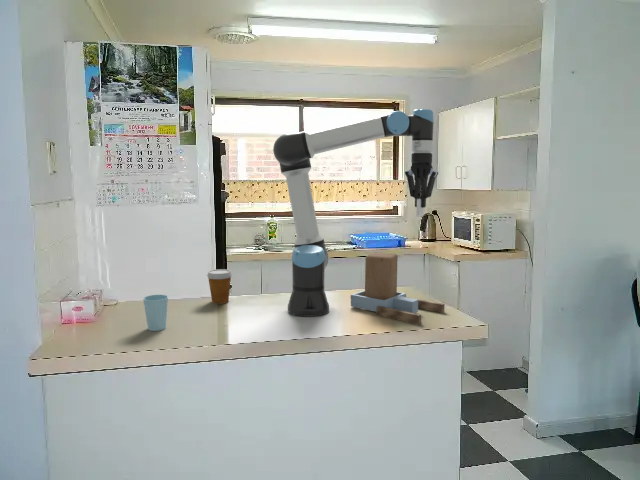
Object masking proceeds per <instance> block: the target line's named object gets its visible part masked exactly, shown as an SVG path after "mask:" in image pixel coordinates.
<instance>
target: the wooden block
mask: <svg viewBox="0 0 640 480" xmlns="http://www.w3.org/2000/svg"><path fill="white" fill-rule="evenodd" d="M364 266H365V268H364V269H365V271H364V274H365V275H364V279H365V280H364V290H365V297H370V298H375V299H380V300H386V299H389V298H392V297H394V296H397V292H398V291H397V289H398V254H397V253H389V252H372V253H370V254H368V255H366V256H365V265H364Z"/></svg>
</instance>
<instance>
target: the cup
mask: <svg viewBox="0 0 640 480" xmlns="http://www.w3.org/2000/svg"><path fill="white" fill-rule="evenodd" d="M168 302H169V296H168V295H166V294H151V295H146V296H144V297H143V305H144V312H145V319H146V325H147V329H148V330H149V331H150V332H151V331H152V332H158V331H163V330H165V329H166V327H167V318H168V317H167V316H168V314H167V313H168Z"/></svg>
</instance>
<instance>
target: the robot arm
mask: <svg viewBox="0 0 640 480" xmlns="http://www.w3.org/2000/svg"><path fill="white" fill-rule="evenodd" d="M434 123H435V122H434V111H433V110H432V109H428V108H420V109H418V108H417V109H414V110H413V111H412V113H411V114H408V115H407V113H405V112H404V111H402V110H394V111H391V113H386V114H382V115H378V116H374V117H371V118H366V119H361V120H357V121H354V122H348V123H345V124H340V125H338V126H337V125H336V126H333V127H329V128H325V129H324V128H323V129H320V130H318V131H317V130H315V131H312V132H309V131H308V130H303V131H300V132H292V133H290V132H289V133H285V134H282V135H280V136H279V137H277V139H276V140H275V141H274V144H273V149H272V151H273V154H274V155H273V156H274V159H276V161H277V162H278V163H279V169H280V174H282V175H283V176H285V180H286V185H287V189H288V196H289V200H290V201H289V202H290V205H291V213H292V217H293V223H294V227H295V228H294V229H295V233H296V240H295V242H293V244H294V249H293V250H292V255H291V261H292V262H291V263H292V264H291V265H292V271H291V272H292V290H291V293H290V298H289V301H288V304H287V312H288V313H289V314H291V315H293V316H299V317H317V316H323V315H326V314H328V313H329V312H330V303H329V302H328V298H327V295H326V291H325V269H326V268H327V266H328V263H329V253H328V251H327V249H326V244H325V238H324V237H323V236H322V235H320V233H319V232H320V231H319V227H318V222H317V221H318V220H317V216H316V210H315V209H316V208H315V204H314V203H315V202H314V199H313V194H312V193H313V192H312V186H311V181H310V175H309V172H310V171H311V169H312V165H311V164H312V163H311V159H313V158H314V157H315V155H316V154H321V153H322V154H323V153H326V152H330V151H333V150H338V149H342V148H345V147H350V146H355V145H359V144H364V143H367V142H370V141H375V140H379V139H384V138H389V137H411V152H412V153H411V166H410V169H409V170H407V171H405V172H404V175H405V176H406V178H407V184H408V190H409V195H410V197H412V198H414V206H415V208H416V217H418V218H419V217H424V216H425V215H424V213H425V212H424V210H425V208H426V207H427V199H428V198H431V197H432V194H433V191H434V190H433V189H434V186H435V181H436V179H437V177H438V175H439V171H435V170H434V169H433V165H432V163H433V153H432V152H433V149H434V148H433V146H434V145H433V141H434ZM429 175H430V176H429Z"/></svg>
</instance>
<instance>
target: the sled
mask: <svg viewBox="0 0 640 480" xmlns="http://www.w3.org/2000/svg"><path fill="white" fill-rule="evenodd" d="M406 297H407V293H406V292H400V291H397V296H394V297H392V298H389V299H386V300H380V299H375V298H370V297H365V289H363V290H361V291H357V292H355V293H351V294H350V307H353V308H358V309H362V310H367V311H372V312H375V313H376V307H377V306H381V307H386V308H391V309H396V310H401V311H406V312H411V313H416V314H417V313H418V312H419V308H418V300H417V299H418V298H415V299H412V298H413V297H410V298H406Z"/></svg>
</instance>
